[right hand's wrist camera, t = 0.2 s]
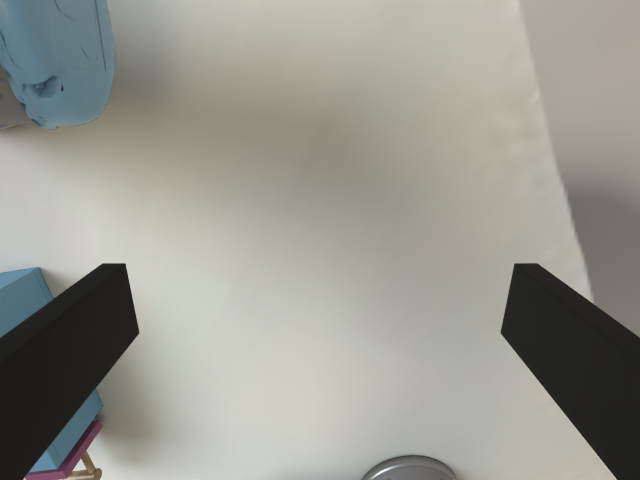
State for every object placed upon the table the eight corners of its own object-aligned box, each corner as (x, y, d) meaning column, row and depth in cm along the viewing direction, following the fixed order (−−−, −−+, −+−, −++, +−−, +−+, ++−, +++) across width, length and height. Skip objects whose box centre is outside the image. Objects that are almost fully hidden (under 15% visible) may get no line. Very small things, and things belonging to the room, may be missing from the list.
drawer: (116, 454, 52) (84, 509, 45) (83, 458, 52) (46, 513, 45) (41, 300, 43) (-12, 338, 36) (2, 306, 43) (-59, 344, 36)
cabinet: (103, 405, 50) (57, 469, 41) (61, 411, 50) (6, 475, 42) (38, 267, 43) (-34, 308, 34) (-11, 274, 43) (-95, 317, 34)
